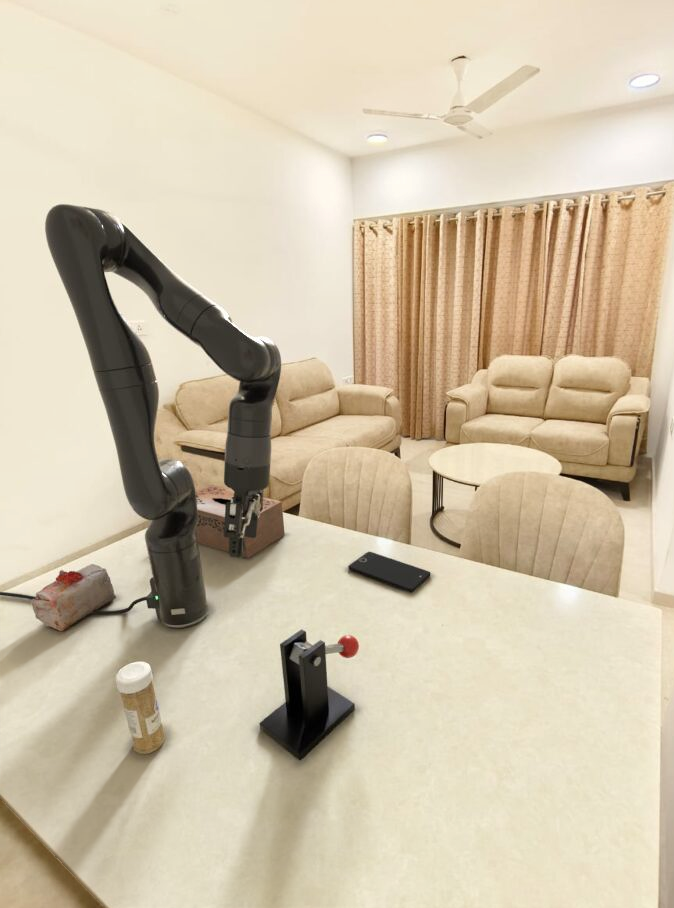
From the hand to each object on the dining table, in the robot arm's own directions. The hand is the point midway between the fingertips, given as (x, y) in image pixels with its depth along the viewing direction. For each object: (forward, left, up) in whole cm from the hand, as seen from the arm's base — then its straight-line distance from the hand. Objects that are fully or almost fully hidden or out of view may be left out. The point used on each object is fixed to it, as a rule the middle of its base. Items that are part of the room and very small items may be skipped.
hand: (243, 546), depth 89 cm
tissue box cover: (-29, +37, -21) cm, 51 cm away
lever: (+19, -10, -12) cm, 25 cm away
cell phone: (+18, +31, -21) cm, 41 cm away
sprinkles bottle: (-3, -25, -21) cm, 33 cm away
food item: (-40, -3, -21) cm, 45 cm away
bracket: (+18, -14, -21) cm, 31 cm away
